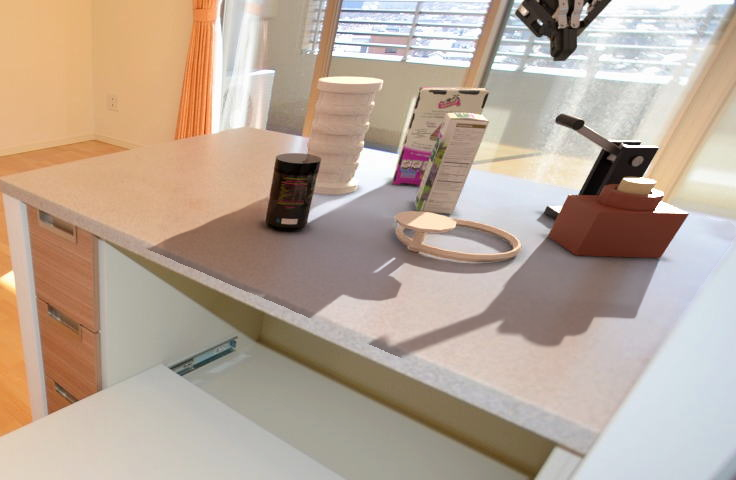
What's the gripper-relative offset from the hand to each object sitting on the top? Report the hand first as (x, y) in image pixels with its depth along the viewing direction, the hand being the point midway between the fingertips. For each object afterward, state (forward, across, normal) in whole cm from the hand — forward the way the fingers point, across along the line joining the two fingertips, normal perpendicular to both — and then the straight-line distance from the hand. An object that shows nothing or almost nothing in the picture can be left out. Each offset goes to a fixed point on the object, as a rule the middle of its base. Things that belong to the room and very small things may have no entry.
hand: (563, 56), depth 82 cm
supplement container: (+26, +39, -5) cm, 47 cm away
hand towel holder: (+31, +16, -1) cm, 35 cm away
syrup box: (+18, +12, -14) cm, 25 cm away
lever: (+14, -5, -1) cm, 15 cm away
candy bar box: (+6, +9, -25) cm, 27 cm away
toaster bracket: (+22, -10, -9) cm, 26 cm away
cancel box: (+30, -6, -1) cm, 30 cm away
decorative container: (+9, +28, -23) cm, 37 cm away
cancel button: (+24, -6, +4) cm, 25 cm away
